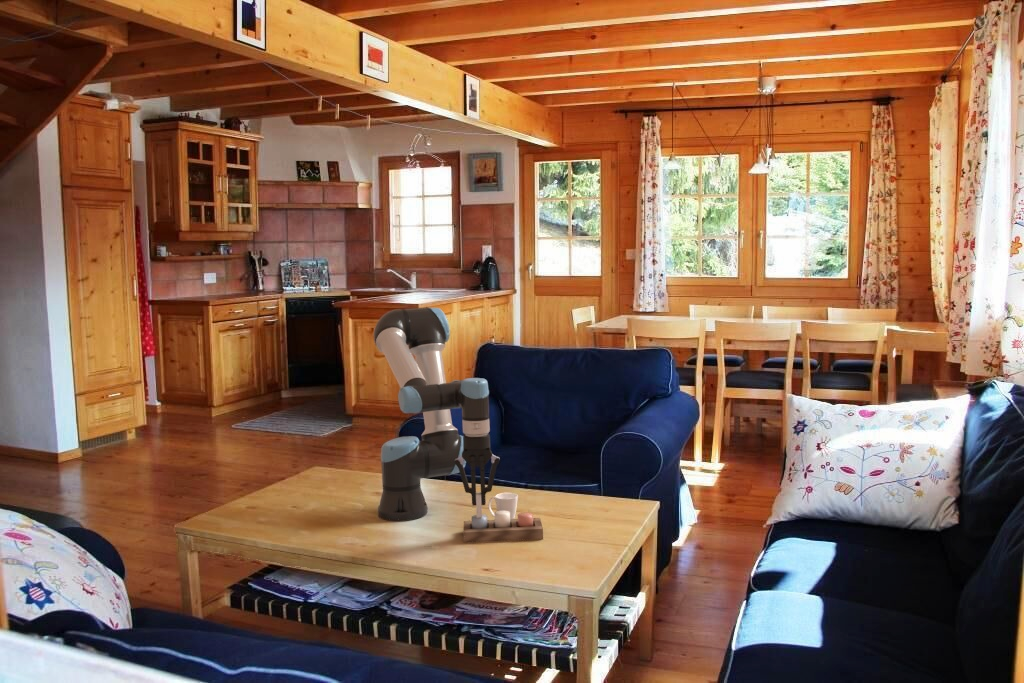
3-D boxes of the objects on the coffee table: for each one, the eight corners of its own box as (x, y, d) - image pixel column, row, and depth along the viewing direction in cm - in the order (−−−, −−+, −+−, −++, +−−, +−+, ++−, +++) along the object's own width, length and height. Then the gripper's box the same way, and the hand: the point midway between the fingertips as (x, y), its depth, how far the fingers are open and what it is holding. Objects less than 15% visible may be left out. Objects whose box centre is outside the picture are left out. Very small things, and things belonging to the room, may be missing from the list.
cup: (510, 527, 253) (509, 500, 252) (482, 522, 259) (481, 495, 258) (523, 520, 259) (522, 494, 258) (496, 515, 264) (495, 489, 264)
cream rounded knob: (495, 529, 244) (494, 515, 243) (494, 524, 248) (494, 510, 248) (510, 528, 244) (510, 514, 243) (510, 523, 248) (509, 510, 248)
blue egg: (471, 533, 243) (471, 519, 243) (471, 528, 248) (471, 514, 247) (487, 532, 244) (487, 518, 243) (487, 527, 248) (486, 514, 248)
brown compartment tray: (463, 542, 241) (463, 532, 240) (464, 531, 251) (463, 521, 250) (543, 539, 242) (542, 528, 241) (540, 527, 252) (540, 517, 251)
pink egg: (518, 531, 244) (517, 517, 244) (517, 526, 248) (517, 512, 248) (534, 530, 244) (533, 516, 244) (532, 525, 249) (532, 512, 248)
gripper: (452, 437, 239) (455, 521, 241) (500, 435, 239) (502, 519, 242) (453, 432, 246) (456, 513, 249) (499, 430, 247) (501, 511, 249)
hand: (479, 516), depth 245 cm, fingers closed
